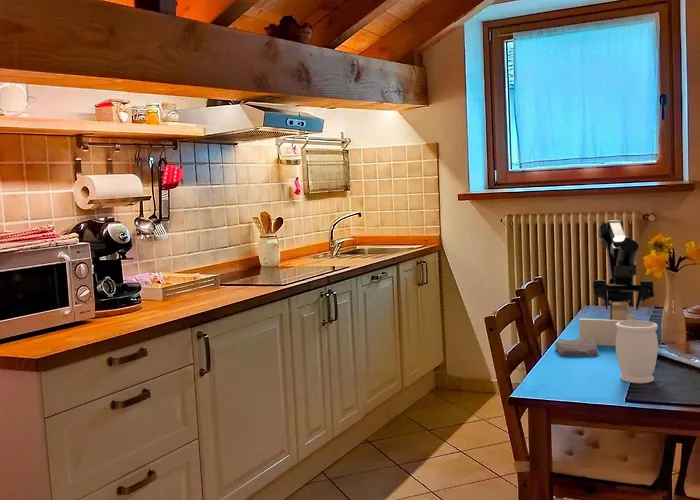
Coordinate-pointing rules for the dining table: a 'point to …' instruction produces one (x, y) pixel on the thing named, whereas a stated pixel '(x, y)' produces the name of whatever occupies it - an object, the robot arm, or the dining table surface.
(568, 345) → the stone block
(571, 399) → the dining table surface
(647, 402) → the dining table surface
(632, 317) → the hinge post
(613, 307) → the block
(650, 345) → the jar
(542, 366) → the dining table surface
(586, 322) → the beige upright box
